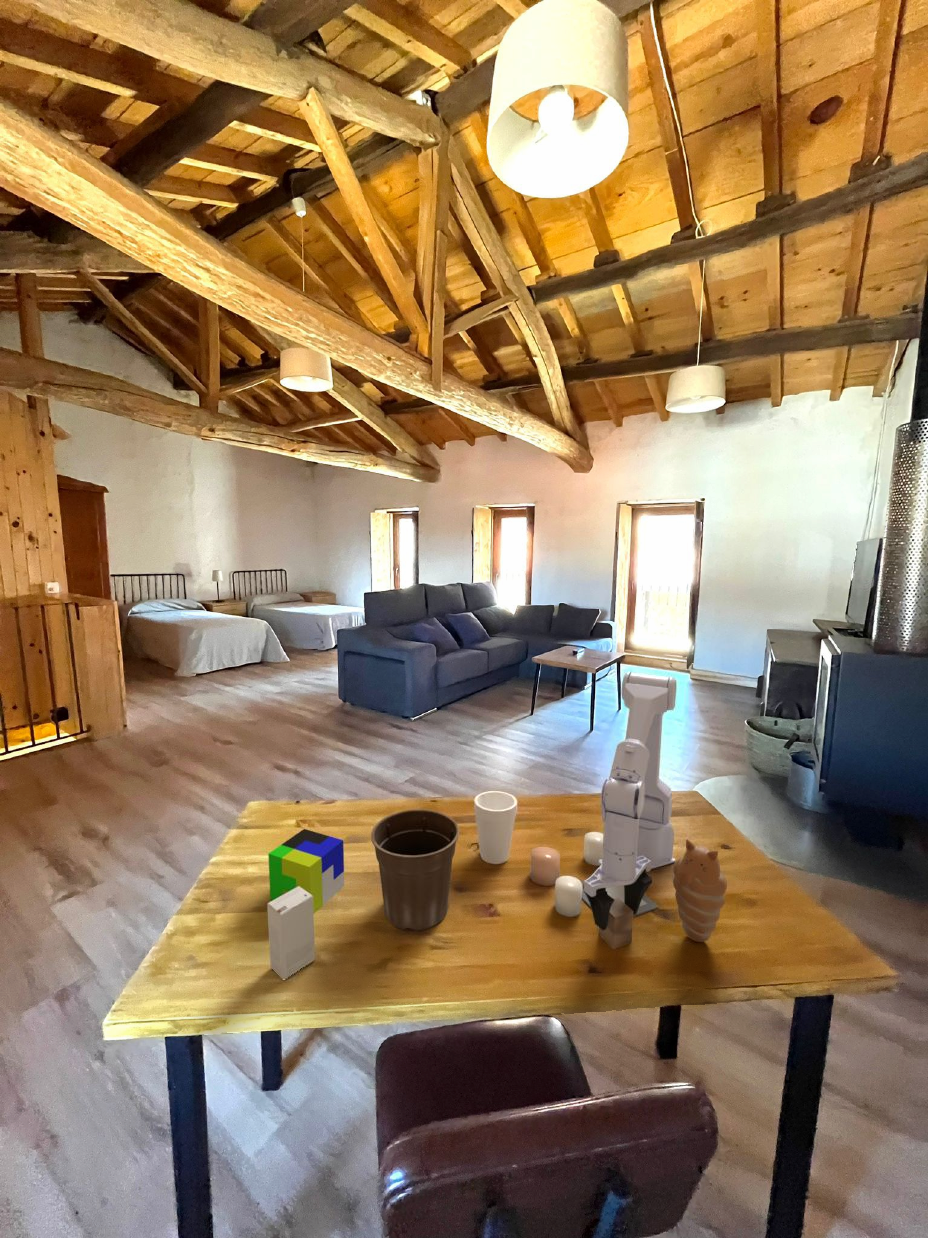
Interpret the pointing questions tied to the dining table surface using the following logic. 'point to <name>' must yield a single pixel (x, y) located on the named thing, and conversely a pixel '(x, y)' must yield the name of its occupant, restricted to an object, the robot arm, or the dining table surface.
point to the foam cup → (495, 824)
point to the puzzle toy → (308, 866)
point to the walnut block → (618, 925)
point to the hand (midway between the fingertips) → (615, 918)
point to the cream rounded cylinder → (593, 848)
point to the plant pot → (415, 866)
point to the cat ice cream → (699, 890)
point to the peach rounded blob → (544, 866)
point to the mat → (618, 892)
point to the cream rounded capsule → (568, 896)
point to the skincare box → (291, 932)
